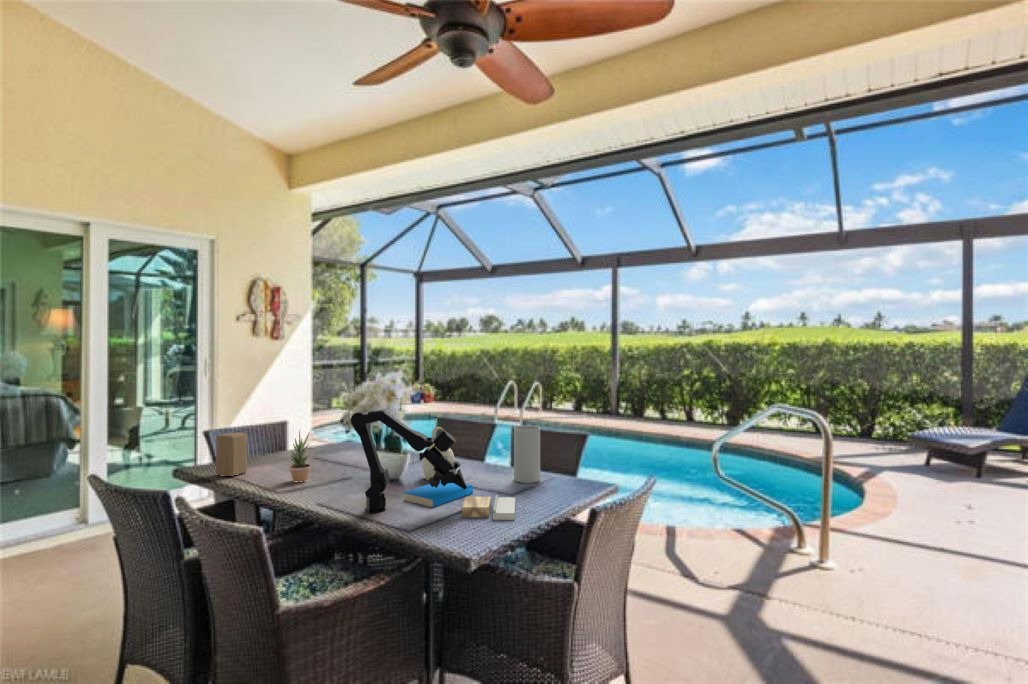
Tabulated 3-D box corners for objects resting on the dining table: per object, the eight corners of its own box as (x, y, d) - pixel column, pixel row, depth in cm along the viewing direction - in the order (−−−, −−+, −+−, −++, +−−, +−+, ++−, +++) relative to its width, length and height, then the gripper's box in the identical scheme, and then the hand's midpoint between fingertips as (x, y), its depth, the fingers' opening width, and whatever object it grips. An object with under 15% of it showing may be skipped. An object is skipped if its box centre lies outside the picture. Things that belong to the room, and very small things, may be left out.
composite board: (492, 519, 204) (492, 510, 204) (495, 503, 224) (495, 494, 224) (514, 519, 203) (514, 510, 203) (515, 503, 223) (515, 495, 223)
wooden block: (215, 476, 267) (215, 435, 267) (231, 471, 276) (231, 432, 276) (231, 477, 264) (231, 436, 264) (247, 473, 273) (247, 433, 273)
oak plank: (462, 507, 207) (488, 507, 207) (465, 496, 221) (490, 496, 221) (462, 517, 207) (488, 518, 207) (465, 506, 221) (490, 506, 221)
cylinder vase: (530, 485, 252) (530, 430, 252) (508, 481, 259) (508, 428, 259) (545, 479, 262) (545, 427, 262) (524, 475, 269) (524, 424, 269)
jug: (416, 478, 264) (416, 426, 264) (444, 473, 274) (444, 423, 274) (431, 484, 252) (431, 430, 252) (460, 479, 262) (460, 427, 262)
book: (403, 492, 228) (443, 478, 248) (403, 502, 228) (443, 488, 249) (433, 498, 218) (473, 484, 239) (433, 509, 218) (473, 494, 239)
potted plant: (314, 478, 263) (314, 427, 262) (305, 484, 253) (305, 430, 253) (294, 478, 264) (294, 426, 263) (284, 483, 254) (284, 430, 254)
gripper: (427, 469, 223) (454, 496, 223) (418, 480, 205) (448, 510, 204) (446, 449, 223) (473, 477, 223) (439, 459, 204) (469, 489, 204)
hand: (466, 488), depth 214 cm, fingers closed
